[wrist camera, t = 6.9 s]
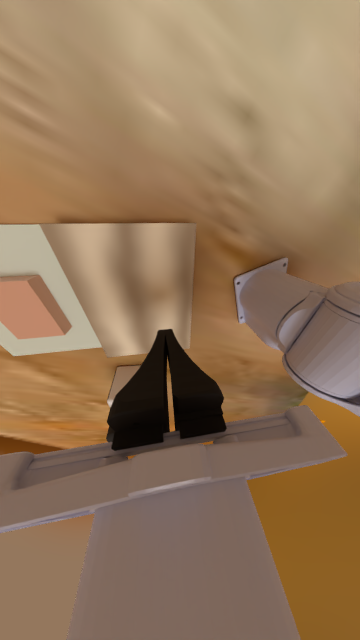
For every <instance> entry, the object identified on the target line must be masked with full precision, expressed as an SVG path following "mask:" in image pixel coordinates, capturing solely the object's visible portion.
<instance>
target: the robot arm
mask: <svg viewBox="0 0 360 640" xmlns="http://www.w3.org/2000/svg"><path fill="white" fill-rule="evenodd" d="M283 264H284V265H283ZM287 265H288V258H285V257H284V258H282V259H279V260H277V261H274V262H272V263H269V264H267V265H264V266H262V267H259V268H257V269H254V270H252V271H249V272H247V273H244V274H242V275H239V276H237V277H235V279H234V286H235V295H236V304H237V313H238V321H239V323H244V322H246V324H247V325H248V326H249V327H250V328H251V329H252V330H253V331H254V332H255V333H256V334H257V336H258V337H259V338H260V339H261V340H262V341H263V342H264V343H265V344H267V345H268V346H270V347H272V348H274V349H277V350H281V351H282V352H283V353H284V355H283V357H282V363H283V366H284V368H285V370H286V371H287V373H288V374H289V375H290V376H291V377H292V378H293V379H294V380H295V381H296V382H297V383H298V384H299V385H300V386H302V387H303V388H305V389H306V390H307V391H309V392H311V393H313V394H315V395H316V396H318V397H320V398H323V399H325V400H328V401H331V402H333V403H336V404H338V405H340V406H342V407H344V408H346V409H348V410H350V411H351V412H353V413H354V414H356V415H358V416H359V417H360V282H347V283H344V284H341V285H336V286H333V287H331V288H329V289H328V288H325V287H323V286H320V285H317V284H314V283H312V282H309V281H306V280H303V279H300V278H298V277H295V276H292V275H289V274H287V273H286V272H287ZM237 282H239V283H238V284H237ZM241 316H242V317H241ZM167 356H168V362H169V368H170V373H171V383H172V396H173V408H174V420H175V431H173V432H170V429H169V413H168V397H167ZM223 400H224V397H223V394H222V392H221V390H220V388H219V386H218V385H217V383H216V382H215V381H214V380H213V379H212V378H210V377H209V376H208V375H207V374H206V373H204V372H203V371H202V370H201V369H200V368H199V367H198V366H197V365H196V364H195V363H194V362H193V361H192V360H191V359H190V358H189V356H188V355H187V354H186V353H185V351H184V350H183V348H182V347H181V345H180V344H179V342H178V341H177V339H176V337H175V335H174V332H173V330H172V329H163V330H158V332H157V335H156V338H155V341H154V343H153V346H152V348H151V350H150V352H149V353H148V355H147V357H146V359H145V360H144V362H143V363H142V365H141V366H140V368H139V369H138V370H137V372H136V373H135V374H134V375H133V377H132V378H131V379H130V380H129V381H128V383H127V384H126V385H125V386H124V387H123V388H122V389H121V390H120V391H119V392H118V393H117V394H116V396H115V398H114V400H113V403H112V405H111V408H110V412H109V416H108V420H107V423H108V425H109V426H110V427H111V428H112V429H113V430H114V431H115V432H114V437H113V442H108V443H102V444H96V445H90V446H84V447H78V448H72V449H66V450H61V451H54V452H48V453H43V454H36V455H34V454H33V453H31V452H17V453H11V454H5V455H0V533H3V532H7V531H12V530H16V529H21V528H26V527H30V526H35V525H40V524H45V523H50V522H54V521H59V520H64V519H69V518H74V517H79V516H83V515H88V514H93V513H95V515H94V519H93V524H92V529H91V532H90V537H89V541H88V546H87V551H86V555H85V560H84V564H83V568H82V573H81V577H80V582H79V586H78V591H77V595H76V599H75V604H74V608H73V613H72V617H71V621H70V626H69V631H68V635H67V639H66V640H301V639H300V636H299V633H298V630H297V627H296V624H295V621H294V618H293V615H292V613H291V610H290V607H289V604H288V601H287V598H286V595H285V592H284V589H283V586H282V583H281V581H280V578H279V575H278V572H277V569H276V566H275V563H274V560H273V557H272V554H271V551H270V549H269V546H268V543H267V540H266V537H265V534H264V531H263V528H262V525H261V522H260V519H259V516H258V514H257V511H256V508H255V505H254V502H253V499H252V496H251V493H250V491H249V487H248V484H247V481H246V480H249V479H253V478H257V477H262V476H266V475H270V474H275V473H279V472H284V471H288V470H293V469H297V468H301V467H306V466H310V465H315V464H319V463H323V462H327V461H330V460H334V459H338V458H341V457H345V456H347V453H346V452H345V451H344V449H343V448H342V447H341V446H340V445H339V443H338V442H337V441H336V440H335V439H334V437H333V436H332V435H331V434H330V433H329V431H328V430H327V429H326V428H325V426H324V425H323V424H322V423H321V422H320V420H319V419H318V418H317V417H316V416H315V415H314V413H313V412H312V411H311V410H310V408H309V407H308V406H306V405H303V406H297V407H292V408H289V409H287V410H286V411H285V412H284V413H281V414H275V415H269V416H263V417H257V418H251V419H245V420H239V421H233V422H227V423H225V421H224V418H223V412H222V409H221V405H222V403H223ZM209 441H213V444H210V445H203V444H198V443H204V442H209ZM137 454H138V455H137ZM132 455H136V456H134V457H133V458H132V459H129V460H128V457H126V456H132Z"/></svg>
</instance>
